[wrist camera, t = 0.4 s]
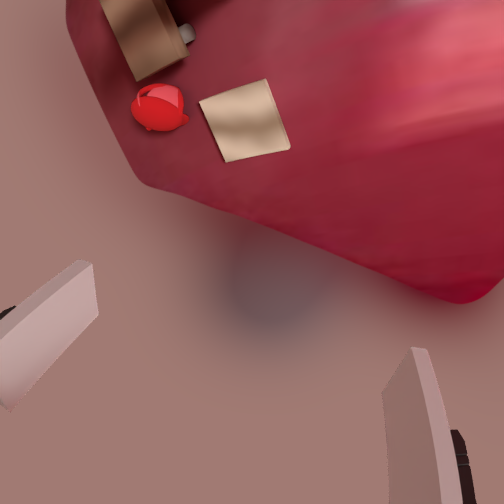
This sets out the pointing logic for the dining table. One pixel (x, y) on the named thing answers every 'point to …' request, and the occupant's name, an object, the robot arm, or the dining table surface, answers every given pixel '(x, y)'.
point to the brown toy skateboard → (147, 34)
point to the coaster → (245, 121)
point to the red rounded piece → (159, 107)
